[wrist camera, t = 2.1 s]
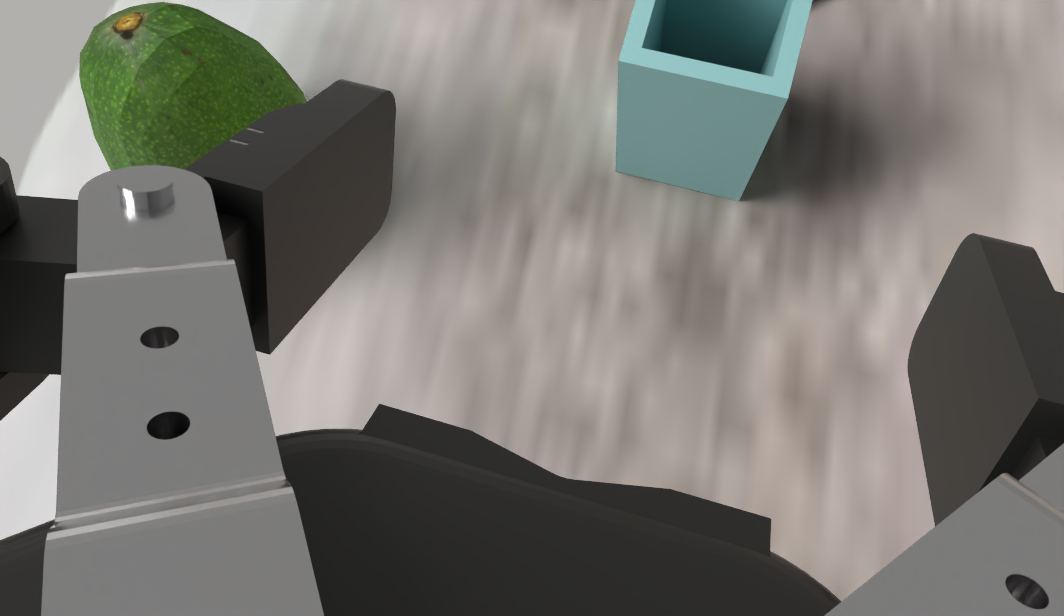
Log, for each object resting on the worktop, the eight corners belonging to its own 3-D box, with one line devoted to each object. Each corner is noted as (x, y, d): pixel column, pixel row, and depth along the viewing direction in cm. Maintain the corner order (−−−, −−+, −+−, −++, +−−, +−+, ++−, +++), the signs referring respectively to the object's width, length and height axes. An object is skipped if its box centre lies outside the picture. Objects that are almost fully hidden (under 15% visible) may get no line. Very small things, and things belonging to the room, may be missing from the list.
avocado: (382, 162, 38) (281, 21, 26) (264, 297, 37) (105, 213, 25) (256, 62, 39) (107, -114, 28) (140, 189, 39) (-64, 64, 27)
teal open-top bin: (647, 59, 38) (661, -88, 28) (768, 86, 37) (826, -55, 27) (615, 171, 37) (618, 60, 27) (739, 201, 36) (787, 98, 26)
